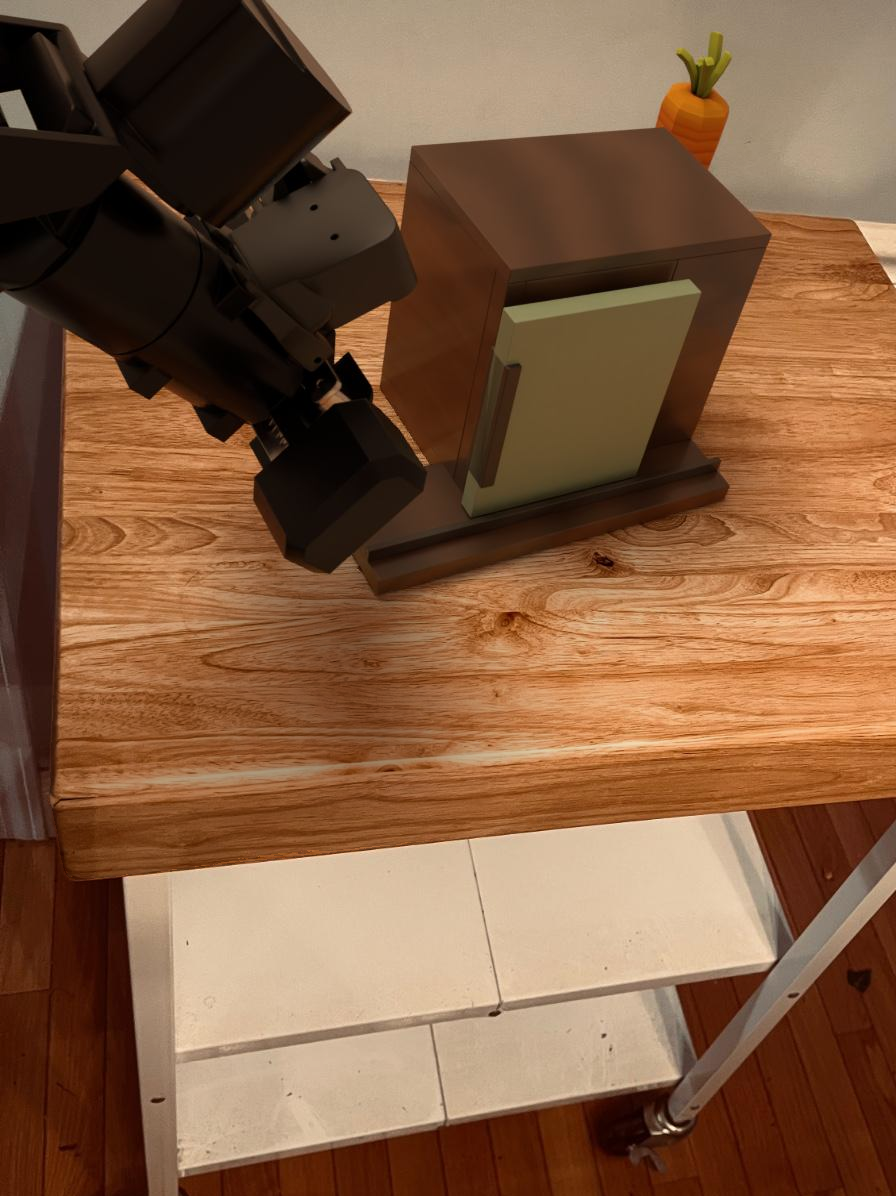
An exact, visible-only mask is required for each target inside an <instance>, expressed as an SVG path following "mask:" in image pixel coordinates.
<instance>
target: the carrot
mask: <svg viewBox="0 0 896 1196" xmlns="http://www.w3.org/2000/svg"><path fill="white" fill-rule="evenodd" d="M708 40H709V41H708V51H707V57H705V56H701V57H699V58H697V62H695V59H694V56H692V54H691V53H690V52H689V51H688V50H687V49H685V48H684V47H677V49H676V50H675V55H676V56H677V57H678V58H679V59H680V60H681V61H682V62H683V64H684V66H685V68H686V70H687V73H688V76H689V80H690V82H676V83H674V84H672V85H671V86H670V88H669V90H668V91H667V93H665V96H664V97H663V99H662V102H661V104H660V107H659V110H658V111H659V112H658V114H657V115H658V116H657V119H656V123H655V126H654V128H658V127H665V128H666V129H667V130H668V131H669V132H670V133H671V134H672V135H673V136H674V137H675V138H676V139H677V140H678V141H679V142H680V143H681V144H682V145H683V146H684V147H685V148H686V149H687V150H688V151H689V152H690V153H691V154H692V155H693V156H694V157H695V158H696V159H697V160H698V161H699V162H700V163H701V164H702V165H703V166H704V167H705V168H706V169H707V170H708V171H709V168H710V166H711V163H712V162H713V158H714V156H715V153H716V151H717V148H718V146H719V143H720V140H721V138H722V135H723V132H724V130H725V126H726V124H727V121H728V118H729V114H730V105H729V104H728V102H727V101H726V99H725V98H724V97H723V96H722V95H721V94H720V93H718V91H716V89H715V88H713V87H714V86H715V85H716V84H717V83H718V82H719V79H720V78H721V77H722V76H723V74H724V73H725V71H726V70H727V68H728V66H729V65H730V63H731V61H732V59H733V57H732V53H731V52H730V51H728V50H725V51H724V53H723V54H722V52H723V44H724V36H723V34H722V33H720V32H719V31H718V30H715V31H711V32H710V33H709V39H708Z"/></svg>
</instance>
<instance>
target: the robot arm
mask: <svg viewBox="0 0 896 1196" xmlns="http://www.w3.org/2000/svg"><path fill="white" fill-rule="evenodd" d="M13 91H20V93H21V95H22V98H23V100H24V103H25V104H26V107H27V109H28V112H29V114H30V117H31V119H32V122H33V123H34V126H35V128H36V129H31V128H30V129H29V128H20V127H11V126H10V124H9V122H8V119H7V117H6V115H5V112H4V110H3V108H2V104H0V294H2V293H4V294H6V295H7V296H9V297H10V298H13V299H14V300H16V301H18V302H19V303H21V304H23V305H24V306H26V307H28V308H30V309H31V310H33V311H34V312H36V313H37V314H39V315H41V316H43V317H45V318H46V319H48V320H49V321H50V322H53V323H55V324H56V325H58V326H60V327H61V328H62V329H65V330H66V331H68V332H70V333H72V334H73V335H75V336H76V337H78V338H80V339H81V340H83V341H85V342H86V343H88V344H90V345H91V346H92V347H95V348H96V349H99V350H100V351H102V352H103V353H105V354H107V355H108V356H110V357H112V358H113V359H114V361H115V363H116V365H117V367H118V369H119V371H120V373H121V375H122V377H123V379H124V381H125V383H126V385H127V387H128V389H129V390H131V391H132V392H134V393H136V394H138V395H139V396H140V397H142V398H144V399H146V400H148V401H151V399H152V398H154V397H155V396H156V395H157V394H158V393H159V392H160V391H161V390H162V389H163V388H164V389H165V390H167V391H169V392H171V393H172V394H174V395H176V396H177V397H179V398H180V399H183V400H184V401H186V402H187V403H189V404H190V405H191V407H192V408H193V410H194V412H195V415H196V416H197V418H198V420H199V422H200V424H201V425H202V427H203V429H204V430H205V433H206V434H207V435H209V436H211V437H213V438H214V439H216V440H218V441H219V442H222V443H223V444H224V443H226V442H227V441H228V440H229V439H230V438H231V437H233V435H235V434H236V432H238V431H239V430H240V429H241V428H242V427H243V426H244V425H247V426H250V427H251V428H252V430H253V432H254V434H255V437H254V438H252V439H251V440H250V441H249V443H248V445H249V447H250V449H251V451H252V452H253V454H254V456H255V458H256V460H257V461H258V463H259V465H260V467H261V470H260V471H258V473H256V475H254V476H253V489H252V490H253V491H252V501H253V503H254V505H255V507H256V509H257V510H258V512H259V514H260V516H261V518H262V520H263V521H264V523H265V525H266V527H267V529H268V531H269V534H271V537H272V539H273V540H274V542H275V544H276V545H277V547H278V549H279V551H280V553H281V555H282V556H283V558H284V560H286V561H288V562H290V563H292V564H294V565H297V566H299V567H300V568H303V569H304V570H307V571H309V572H311V573H313V574H322V575H331V574H333V572H334V571H335V570H336V569H338V568H339V567H340V566H341V565H342V564H343V563H344V562H345V561H346V560H348V559H349V558H350V557H351V556H353V553H354V552H355V551H357V550H358V549H359V548H360V547H361V546H362V545H363V544H364V543H366V542H367V541H368V540H369V539H370V538H371V537H372V536H373V535H375V534H376V533H377V532H378V531H379V530H380V529H381V528H382V527H384V526H385V525H386V524H387V523H388V522H389V521H390V520H392V519H393V518H394V517H395V516H396V515H397V514H398V513H399V512H401V511H402V510H403V509H404V508H405V507H406V506H407V505H408V504H410V503H411V502H412V501H413V500H414V499H415V498H416V497H417V496H419V495H420V494H421V493H422V492H423V491H424V487H425V482H426V478H427V473H428V472H427V471H426V469H425V467H424V466H425V465H423V463H422V461H421V460H420V458H419V457H418V455H417V454H416V452H415V450H414V448H412V445H411V444H410V443H409V442H408V440H407V438H406V437H405V435H404V434H403V432H402V431H401V429H400V428H399V427H398V426H397V425H396V424H395V423H394V421H392V420H391V419H390V417H389V416H388V415H387V414H386V413H385V412H384V411H383V410H382V409H381V408H379V407H378V406H377V405H376V404H374V396H375V394H374V389H373V386H372V385H371V383H370V381H369V380H368V378H367V377H366V375H365V373H364V372H363V370H362V369H361V368H360V366H359V364H358V363H357V362H356V360H355V358H354V357H353V355H352V353H351V352H350V351H347V352H346V353H344V354H343V356H341V357H340V358H339V359H338V360H337V361H336V362H335V360H336V359H335V358H336V356H335V355H336V338H337V333H336V332H337V331H336V330H337V329H339V328H341V327H343V326H345V325H347V324H349V323H351V322H353V321H355V320H356V319H359V318H360V317H362V316H364V315H366V314H368V313H370V312H372V311H374V310H376V309H377V308H380V307H381V306H383V305H385V304H387V303H389V302H390V303H391V302H397V301H399V300H401V299H402V298H404V297H406V296H407V295H409V294H410V293H411V292H412V291H413V290H414V288H415V287H416V284H417V275H416V272H415V270H414V267H413V264H412V261H411V259H410V256H409V253H408V250H407V248H406V245H405V242H404V240H403V237H402V234H401V231H400V229H401V228H400V225H399V223H398V221H397V218H396V216H395V214H394V213H393V212H392V211H391V208H389V206H388V205H387V204H386V202H385V201H384V199H382V197H381V196H380V194H379V193H378V192H377V190H376V189H375V188H374V186H373V185H372V184H371V182H370V181H369V180H368V178H367V177H366V176H365V175H364V173H362V172H361V171H359V170H358V169H355V168H347V167H346V165H345V164H344V162H343V161H342V160H341V159H340V157H339V156H337V157H334V158H332V159H330V160H329V164H330V166H331V168H330V167H328V166H327V165H325V164H324V163H323V162H322V161H321V159H320V158H319V157H318V156H317V155H315V154H314V153H313V152H312V151H313V150H314V149H316V147H317V146H318V145H320V143H322V142H323V140H325V139H326V138H327V137H328V136H329V135H330V134H331V133H332V132H334V131H335V130H336V129H337V127H340V125H341V124H342V123H343V122H344V121H345V120H347V119H348V118H349V117H350V116H351V115H352V114H353V109H352V107H351V105H350V104H349V101H348V100H347V99H346V97H345V96H344V95H343V93H342V92H341V90H340V89H339V87H338V86H337V85H336V83H335V82H334V81H333V79H332V78H331V77H330V76H329V74H328V73H327V72H326V70H325V69H324V68H323V66H321V64H320V63H319V61H318V60H317V59H316V58H315V56H313V54H312V53H311V52H310V51H309V49H308V48H307V47H306V46H305V44H304V43H303V42H302V41H301V40H300V38H299V37H298V36H297V35H296V34H295V33H294V31H293V30H292V29H291V28H290V26H288V25H287V23H286V22H285V21H284V20H283V18H281V16H280V15H279V14H278V13H277V12H276V10H274V8H273V7H272V5H270V3H268V2H267V0H145V1H144V3H142V4H141V5H140V6H139V8H137V9H136V10H135V11H134V12H133V13H132V14H131V15H130V16H129V17H128V18H127V19H126V20H125V21H124V22H123V23H122V24H121V25H120V26H119V27H118V28H116V29H115V31H114V32H112V34H110V36H108V38H107V39H106V40H105V41H103V42H102V44H101V45H99V46H98V47H97V48H96V50H94V51H93V52H92V53H91V54H90V55H89V57H88V56H87V55H86V54H85V53H83V51H82V50H81V48H80V45H79V44H78V42H77V40H76V38H75V36H74V34H73V31H71V29H70V28H69V26H67V25H66V24H64V23H61V22H60V23H59V22H55V21H54V22H53V21H48V20H39V19H33V18H26V17H20V16H13V15H6V14H0V94H3V93H10V92H13ZM127 170H128V171H129V172H130V173H131V174H132V175H134V176H135V177H136V178H137V179H138V180H140V181H141V182H142V183H143V184H144V185H145V186H146V187H147V188H148V189H149V190H150V191H152V192H153V193H154V194H155V195H156V196H157V197H158V198H159V199H160V200H161V201H160V200H159V199H158V198H157V197H155V196H154V195H153V194H152V193H151V192H150V191H148V190H146V189H145V188H144V187H143V186H141V185H140V184H139V183H137V181H135V180H134V179H133V178H131V177H130V176H128V175H127V174H126V173H125V172H126V171H127ZM163 202H164V203H163ZM167 205H168V206H167ZM251 208H252V209H251ZM172 209H173V210H174V211H173V210H172ZM175 211H176V212H175ZM177 213H178V214H181V215H183V216H184V217H181V216H180V215H178V214H177Z"/></svg>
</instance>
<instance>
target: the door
mask: <svg viewBox="0 0 896 1196" xmlns="http://www.w3.org/2000/svg"><path fill="white" fill-rule="evenodd" d="M700 296H701V291H700V290H699V289H698V288H697V287H696V286H695V285H694V284H693V282H692V281H691V280H690V279H685V280H679V281H672V282H666V283H660V284H653V285H647V286H640V287H634V288H627V289H621V290H615V291H608V292H602V293H595V294H589V295H582V296H576V297H570V298H563V299H557V300H550V301H544V302H537V303H531V304H525V305H518V306H512V307H505V308H503V312H502V317H501V321H500V326H499V331H498V335H497V340H496V345H495V346H493V347H491V351H490V356H489V360H488V365H487V370H486V374H485V379H484V384H483V389H482V393H481V398H480V403H479V407H478V412H477V417H476V422H475V426H474V431H473V436H472V440H471V445H470V450H469V454H468V459H467V464H466V467H467V469H468V475H467V479H466V484H465V489H464V493H463V498H462V505H463V507H464V508H465V510H466V511H467V513H468V514H469V516H470V517H471V518H473V517H477V516H481V515H485V514H489V513H493V512H497V511H501V510H505V509H509V508H513V507H517V506H521V505H525V504H528V503H532V502H536V501H540V500H544V499H548V498H552V497H556V496H560V495H564V494H568V493H572V492H576V491H580V490H584V489H588V488H592V487H596V486H600V485H604V484H607V483H611V482H615V481H619V480H623V479H627V478H631V477H635V476H636V474H637V471H638V469H639V466H640V463H641V460H642V457H643V455H644V452H645V449H646V446H647V443H648V441H649V438H650V435H651V432H652V429H653V427H654V424H655V421H656V418H657V416H658V413H659V410H660V407H661V404H662V402H663V399H664V396H665V393H666V390H667V388H668V385H669V382H670V379H671V376H672V374H673V371H674V368H675V365H676V362H677V360H678V357H679V354H680V351H681V349H682V346H683V343H684V340H685V337H686V335H687V332H688V329H689V326H690V323H691V321H692V318H693V315H694V312H695V309H696V307H697V304H698V301H699V298H700Z"/></svg>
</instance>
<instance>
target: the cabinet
mask: <svg viewBox="0 0 896 1196" xmlns="http://www.w3.org/2000/svg"><path fill="white" fill-rule="evenodd" d="M410 147H411V148H410V155H409V161H408V168H407V176H406V184H405V191H404V200H403V207H402V213H401V214H402V215H401V222H400V228H399V229H400V231H401V234H402V237H403V240H404V242H405V245H406V248H407V250H408V253H409V256H410V259H411V261H412V264H413V267H414V270H415V272H416V275H417V284H416V287H415V288H414V290H413V291H412V292H411V293H410V294H409V295H407V296H406V297H404V298H402V299H401V300H399V301H397V302H390V306H389V312H388V313H389V314H388V321H387V328H386V335H385V336H386V337H385V345H384V351H383V359H382V368H381V375H380V382H379V389H380V390H381V392H382V394H383V395H384V397H385V398H386V400H387V401H388V402H389V404H390V406H391V407H392V408H393V410H394V412H395V413H396V415H397V416H398V418H399V419H400V421H401V423H402V424H403V426H404V427H405V428H406V430H407V432H408V433H409V434H410V436H411V438H412V439H413V440H414V442H415V444H416V445H417V446H418V448H419V450H420V451H421V453H422V454H423V455H424V457H425V459H426V460H427V462H428V463H429V464H428V465H427V464H426V465H423V466H424V467H425V469H426V471H427V472H428V473H427V478H426V482H425V487H424V491H423V492H422V493H421V494H420V495H419V496H417V497H416V498H415V499H414V500H413V501H412V502H411V503H410V504H408V505H407V506H406V507H405V508H404V509H403V510H402V511H401V512H399V513H398V514H397V515H396V516H395V517H394V518H393V519H392V520H390V521H389V522H388V523H387V524H386V525H385V526H384V527H382V528H381V529H380V530H379V531H378V532H377V533H376V534H375V535H373V536H372V537H371V538H370V539H369V540H368V541H367V542H366V543H364V544H363V545H362V546H361V547H360V548H359V549H358V550H357V551H355V552H354V553H353V554H352V556H353V558H354V559H355V561H356V563H357V564H358V566H359V568H360V569H361V571H362V573H363V574H364V577H365V578H366V580H367V581H368V584H369V585H370V587H371V588H372V591H373V592H374V594H375V595H376V596H377V597H379V596H382V595H386V594H389V593H393V592H396V591H397V592H398V591H400V590H404V589H408V588H411V587H414V586H419V585H421V584H425V583H429V582H432V581H437V580H439V579H443V578H447V577H450V576H454V575H457V574H461V573H465V572H468V571H471V570H476V569H479V568H483V567H487V566H490V565H495V564H497V563H501V562H505V561H508V560H511V559H516V558H518V557H519V558H520V557H522V556H526V555H530V554H534V553H537V552H540V551H544V550H547V549H548V550H549V549H550V548H555V547H559V546H562V545H566V544H569V543H573V542H576V541H580V540H583V539H588V538H590V537H593V536H598V535H602V534H605V533H608V532H612V531H616V530H619V529H624V528H627V527H630V526H634V525H637V524H641V523H644V522H648V521H652V520H656V519H659V518H662V517H667V516H670V515H673V514H677V513H680V512H684V511H687V510H692V509H695V508H698V507H702V506H706V505H710V504H712V503H717V502H720V501H724V500H725V499H726V497H727V495H728V493H729V490H730V488H731V484H730V483H729V482H728V480H726V479H725V478H724V476H723V475H722V474H721V472H720V471H719V468H720V466H721V464H722V458H720V457H719V456H715V457H711V458H708V457H707V455H706V454H705V453H704V452H703V451H702V450H701V449H700V447H699V446H698V445H697V444H696V442H695V441H694V440H693V436H694V434H695V431H696V429H697V427H698V425H699V421H700V419H701V417H702V414H703V411H704V409H705V406H706V404H707V400H708V399H709V396H710V393H711V391H712V388H713V386H714V384H715V381H716V378H717V377H718V373H719V370H720V368H721V366H722V363H723V361H724V358H725V355H726V352H727V351H728V347H729V345H730V342H731V340H732V337H733V335H734V332H735V329H736V327H737V325H738V323H739V319H740V317H741V315H742V312H743V309H744V307H745V304H746V302H747V300H748V297H749V295H750V292H751V289H752V287H753V284H754V281H755V279H756V276H757V274H758V271H759V269H760V266H761V264H762V262H763V259H764V257H765V254H766V251H767V248H768V246H769V244H770V241H771V239H772V236H773V233H772V231H770V230H769V229H768V228H767V226H765V225H764V224H763V223H762V222H761V221H760V220H759V219H758V218H757V217H756V216H755V215H754V214H753V213H752V212H751V211H750V210H749V209H748V208H747V207H746V206H745V205H744V204H743V203H742V202H741V201H740V200H739V199H738V198H737V197H736V196H735V195H734V194H733V193H732V192H731V191H730V190H729V189H728V188H727V187H726V186H725V185H724V184H723V183H722V182H721V181H720V180H719V179H717V177H716V176H715V175H714V173H712V172H711V171H710V170H709V169H708V170H707V169H706V168H705V167H704V166H703V165H702V164H701V163H700V162H699V161H698V160H697V159H696V158H695V157H694V156H693V155H692V154H691V153H690V152H689V151H688V150H687V149H686V148H685V147H684V146H683V145H682V144H681V143H680V142H679V141H678V140H677V139H676V138H675V137H674V136H673V135H672V134H671V133H670V132H669V131H668V130H667V129H666V128H665V127H658V128H655V127H646V128H633V129H632V128H631V129H619V130H607V131H592V132H591V131H590V132H579V133H578V132H577V133H564V134H550V135H539V136H537V135H536V136H524V137H512V138H511V137H509V138H497V139H485V140H484V139H483V140H472V141H471V140H470V141H457V142H456V141H455V142H444V143H430V144H429V143H427V144H417V145H416V144H415V145H411V146H410ZM685 279H690V280H691V281H692V282H693V284H694V285H695V286H696V287H697V288H698V289H699V290H700V291H701V296H700V298H699V301H698V304H697V307H696V309H695V312H694V315H693V318H692V321H691V323H690V326H689V329H688V332H687V335H686V337H685V340H684V343H683V346H682V349H681V351H680V354H679V357H678V360H677V362H676V365H675V368H674V371H673V374H672V376H671V379H670V382H669V385H668V388H667V390H666V393H665V396H664V399H663V402H662V404H661V407H660V410H659V413H658V416H657V418H656V421H655V424H654V427H653V429H652V432H651V435H650V438H649V441H648V443H647V446H646V449H645V452H644V455H643V457H642V460H641V463H640V466H639V469H638V471H637V474H636V476H635V477H631V478H627V479H623V480H619V481H615V482H611V483H607V484H604V485H600V486H596V487H592V488H588V489H584V490H580V491H576V492H572V493H568V494H564V495H560V496H556V497H552V498H548V499H544V500H540V501H536V502H532V503H528V504H525V505H521V506H517V507H513V508H509V509H505V510H501V511H497V512H493V513H489V514H485V515H481V516H477V517H473V518H471V517H470V516H469V514H468V513H467V511H466V510H465V508H464V507H463V505H462V498H463V493H464V489H465V484H466V479H467V475H468V469H467V467H466V464H467V459H468V454H469V450H470V445H471V440H472V436H473V431H474V426H475V422H476V417H477V412H478V407H479V403H480V398H481V393H482V389H483V384H484V379H485V374H486V370H487V365H488V360H489V356H490V351H491V347H493V346H495V345H496V340H497V335H498V331H499V326H500V321H501V317H502V312H503V308H505V307H512V306H518V305H525V304H531V303H537V302H544V301H550V300H557V299H563V298H570V297H576V296H582V295H589V294H595V293H602V292H608V291H615V290H621V289H627V288H634V287H640V286H647V285H653V284H660V283H666V282H672V281H679V280H685Z"/></svg>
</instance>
